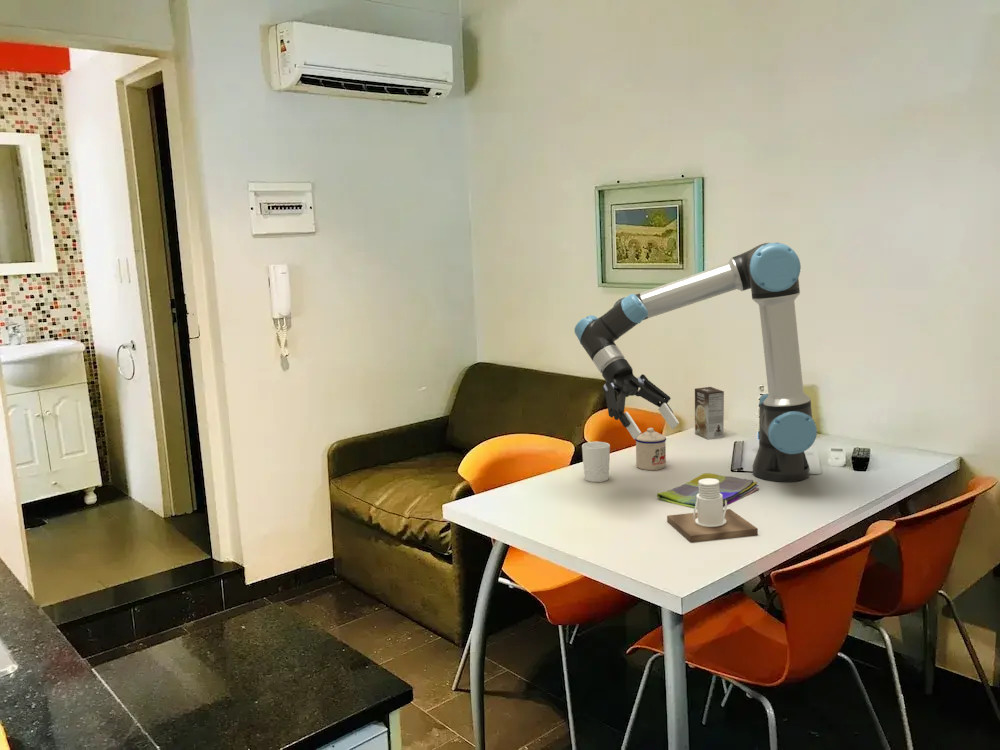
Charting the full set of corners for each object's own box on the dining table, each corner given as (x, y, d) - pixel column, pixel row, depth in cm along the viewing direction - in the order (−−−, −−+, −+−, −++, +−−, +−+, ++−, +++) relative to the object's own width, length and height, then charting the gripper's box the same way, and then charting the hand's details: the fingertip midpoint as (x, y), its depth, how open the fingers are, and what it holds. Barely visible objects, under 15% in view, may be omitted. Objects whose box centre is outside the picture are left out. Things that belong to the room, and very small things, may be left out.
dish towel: (653, 501, 209) (653, 490, 208) (703, 479, 225) (703, 469, 225) (712, 514, 196) (712, 504, 196) (761, 490, 213) (761, 480, 212)
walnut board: (729, 515, 194) (729, 509, 194) (757, 534, 180) (757, 528, 180) (667, 521, 192) (667, 515, 191) (690, 542, 178) (690, 535, 178)
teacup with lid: (656, 472, 232) (655, 433, 230) (629, 467, 238) (628, 429, 236) (677, 463, 241) (676, 425, 239) (651, 458, 247) (650, 421, 245)
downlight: (720, 515, 190) (718, 474, 188) (733, 525, 183) (731, 483, 181) (688, 520, 188) (686, 479, 187) (700, 530, 182) (698, 488, 180)
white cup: (610, 474, 232) (609, 441, 230) (611, 482, 224) (610, 448, 223) (582, 475, 233) (581, 441, 231) (582, 483, 225) (581, 448, 224)
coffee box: (693, 434, 275) (693, 388, 273) (710, 432, 277) (710, 386, 274) (707, 439, 267) (707, 392, 264) (724, 437, 268) (724, 390, 266)
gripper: (640, 368, 220) (683, 430, 210) (571, 382, 206) (613, 448, 196) (653, 351, 215) (698, 413, 205) (583, 363, 201) (628, 431, 191)
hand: (657, 431), depth 201 cm, fingers open, 13 cm apart
